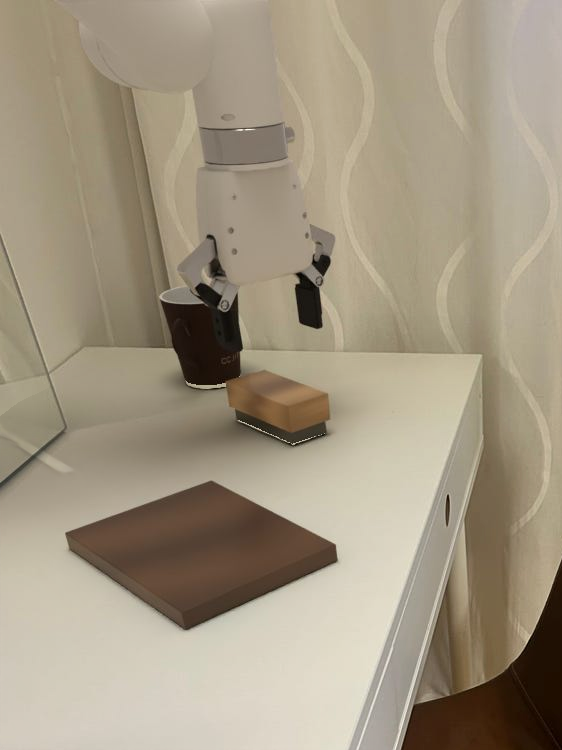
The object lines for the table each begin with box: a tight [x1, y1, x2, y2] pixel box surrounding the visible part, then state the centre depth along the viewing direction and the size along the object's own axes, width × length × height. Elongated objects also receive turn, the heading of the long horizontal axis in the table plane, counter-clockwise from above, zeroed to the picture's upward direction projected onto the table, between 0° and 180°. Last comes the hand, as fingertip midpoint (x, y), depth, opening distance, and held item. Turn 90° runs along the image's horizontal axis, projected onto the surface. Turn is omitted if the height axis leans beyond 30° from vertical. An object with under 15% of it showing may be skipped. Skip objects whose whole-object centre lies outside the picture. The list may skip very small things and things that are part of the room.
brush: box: [225, 369, 331, 444], centre depth 101 cm, size 11×5×4 cm, turn 46°
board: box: [64, 480, 338, 630], centre depth 79 cm, size 18×14×2 cm
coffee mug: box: [158, 283, 242, 385], centre depth 111 cm, size 12×9×10 cm
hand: (272, 337), depth 97 cm, fingers open, 9 cm apart
